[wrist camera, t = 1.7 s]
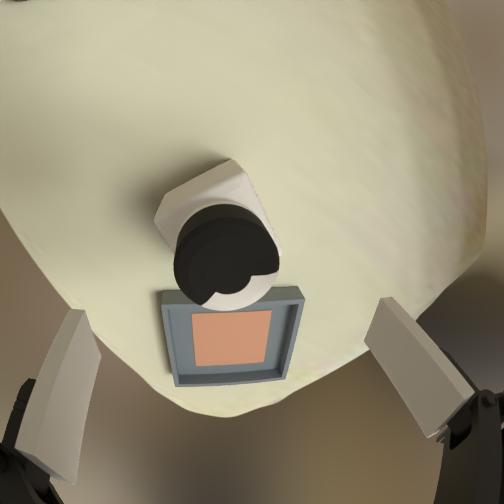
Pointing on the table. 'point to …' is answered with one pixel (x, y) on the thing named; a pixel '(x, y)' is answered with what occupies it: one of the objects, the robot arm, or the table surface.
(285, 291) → the tray
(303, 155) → the table surface
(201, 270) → the medicine bottle
